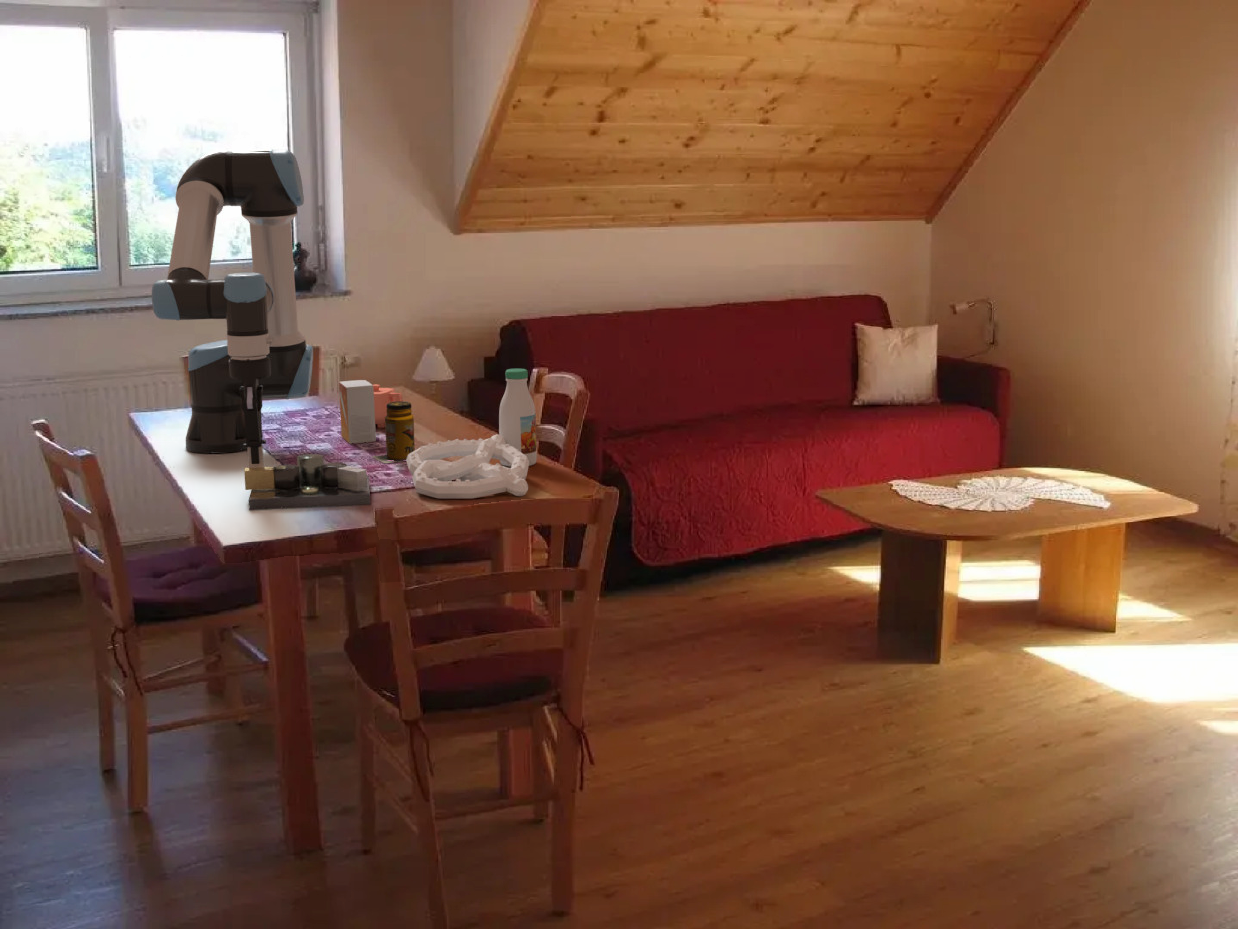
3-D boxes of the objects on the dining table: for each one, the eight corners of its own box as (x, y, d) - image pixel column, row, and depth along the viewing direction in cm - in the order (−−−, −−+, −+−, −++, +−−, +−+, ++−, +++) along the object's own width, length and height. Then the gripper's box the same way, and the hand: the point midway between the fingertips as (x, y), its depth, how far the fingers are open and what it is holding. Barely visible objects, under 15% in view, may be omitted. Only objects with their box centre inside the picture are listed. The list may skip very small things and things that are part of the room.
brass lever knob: (246, 485, 268) (245, 466, 267) (300, 482, 269) (299, 464, 269) (244, 491, 263) (243, 472, 262) (299, 489, 265) (298, 470, 264)
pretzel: (543, 504, 269) (543, 472, 266) (420, 516, 263) (418, 484, 261) (517, 454, 294) (516, 425, 292) (403, 464, 288) (401, 435, 286)
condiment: (422, 459, 299) (420, 404, 297) (385, 464, 295) (383, 408, 292) (407, 453, 305) (405, 398, 303) (371, 457, 301) (369, 402, 298)
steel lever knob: (335, 480, 272) (334, 461, 271) (372, 487, 266) (371, 468, 265) (315, 485, 268) (314, 466, 267) (352, 492, 262) (352, 473, 261)
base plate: (254, 490, 273) (252, 455, 272) (369, 485, 277) (367, 450, 275) (249, 510, 259) (246, 473, 257) (370, 504, 263) (368, 468, 261)
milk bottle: (508, 469, 290) (506, 373, 285) (494, 461, 297) (492, 368, 292) (542, 465, 293) (541, 371, 289) (527, 458, 300) (526, 365, 296)
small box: (341, 437, 321) (338, 381, 318) (368, 435, 324) (365, 379, 321) (348, 444, 314) (345, 386, 311) (376, 441, 316) (374, 384, 313)
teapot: (344, 422, 338) (342, 383, 335) (392, 418, 343) (390, 379, 341) (358, 431, 328) (356, 390, 325) (407, 426, 333) (405, 386, 330)
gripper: (267, 361, 256) (275, 486, 262) (271, 350, 269) (278, 470, 274) (225, 362, 255) (233, 488, 260) (231, 352, 267) (239, 472, 273)
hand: (257, 479), depth 267 cm, fingers closed
